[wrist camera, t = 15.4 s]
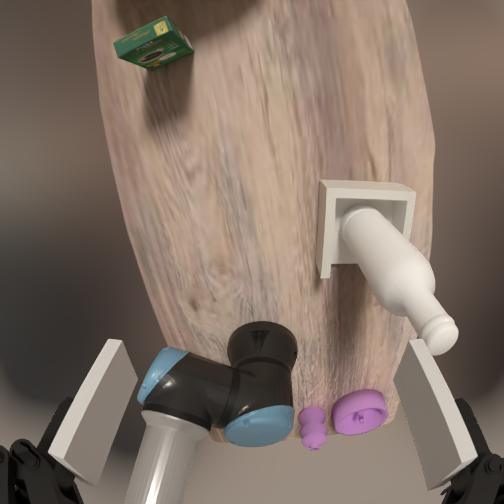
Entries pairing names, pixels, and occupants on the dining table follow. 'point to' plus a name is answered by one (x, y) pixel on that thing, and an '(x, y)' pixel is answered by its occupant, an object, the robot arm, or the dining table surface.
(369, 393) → the container set
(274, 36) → the dining table surface
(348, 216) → the bottle
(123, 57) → the coffee box
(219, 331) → the dining table surface
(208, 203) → the dining table surface
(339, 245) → the bottle rest
